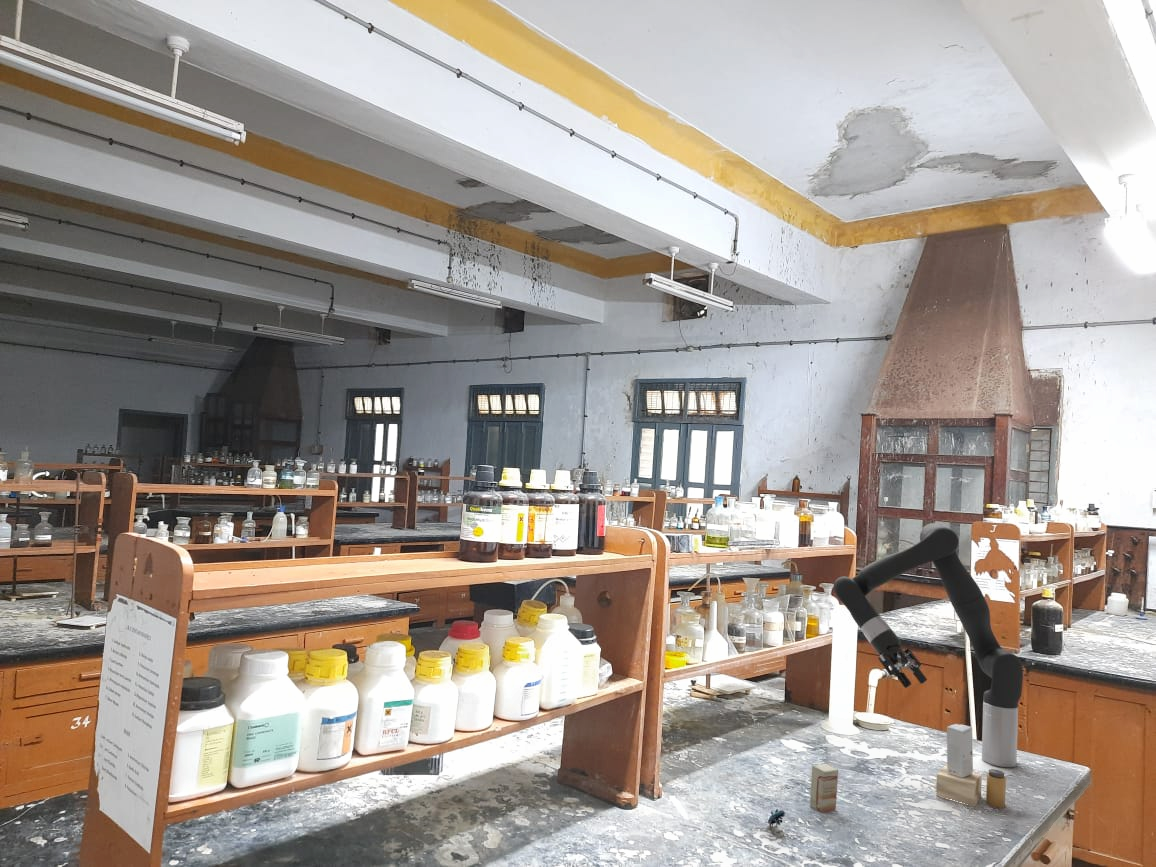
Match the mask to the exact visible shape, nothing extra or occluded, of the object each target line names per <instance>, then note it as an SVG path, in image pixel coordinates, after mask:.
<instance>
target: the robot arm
mask: <svg viewBox="0 0 1156 867" xmlns="http://www.w3.org/2000/svg"><path fill="white" fill-rule="evenodd" d="M919 540H920V541H918V542H917V543H916V544H914V545H912V546H910V547H908V548H906V549H902V550H901V551H897V552H895V553H891V554H888V555H886V556H884V557H881V558H879V559H877V560H875V561H873V562H871V563H869V564H868V565H867V566H864V567H863V568H862V569H860V571H859V573H858V574H857V575H855V576H854V577H852V578H851V577H849V576H840V577H838V578H837V579H836V580H835V581H834V584H833V591H834V594H835V596H836V598H837V599H838V601H839V602H841V603H842V604H843V605H844V606H845V608H846V609H847V610H848V612H849V613H850V615H851V617H852V619H853V620H854V621H855V623H856V624H857V626H858V627H859V629H860V630H861V632H862V633H863V636H864V637H865V638H866V640H867V641H868V642H869V644H870V645H871V646H872V648H873V649H874V651H875V652H876V654H878V657H877V658H878V660H879V662H880V664H881V665H882V666H883V668H884V669H885V670H886V672H887V673H888V675H889V676H891V677H892V676H894V677H896V678H897V680H899V682H900V683H901V685H902V686H903V687H904V688H905V689H908V688H909V687H910V686H912V682H911V680H910V679H909V678H908V676H907V675H906V673H904V672H905V671H904V672H903V668H904V669H906V670H908V671H910V672H912V674H913V676H914V677H915V678H916V680H917V681H918V683H920V684H924V683H926V682H927V681H928V679H927V677H926V675H924V673H923V671H922V670H921V669H920V668H921V666H922V663H921V662H920V660H919V659H918V658H917V657H916V655H915V654H914V653H913V652H912V651H911V649H910V648H908V647H906V648H905V649H902V648H901V647H900V646H901V642H902V641H901V640H900V638H899V636H897V635H896V633H895V632H894V630H893V628H891V626H890V625H889V624H888V622H887V621H886V620H885V619H884V618H883V617H882V616H881V614H879V612H878V611H877V609H876V608H875V607H874V606H873V605H872V604H871V603H870V601H869V600H868V599H867V595H869V594H870V593H871V592H872V591H873V590H875V589H877V588H879V587H882V585H885V584H886V583H889V582H890V581H892V580H893V579H895V578H897V577H899V576H901V575H903V574H905V573H907V572H910V571H911V570H914V569H916V568H918V567H921V566H923V565H926V564H928V563H931V562H932V563H933V565H934V567H935V569H936V571H937V573H938V575H939V578H940V580H941V583H942V584H943V588H944V590H945V592H946V595H947V596H948V599H949V601H950V604H951V605H952V607H953V610H954V612H955V614H956V616H958V619H959V621H960V623H961V625H962V627H963V629H964V631H965V633H966V634H967V636H968V638H969V641H970V644H971V646H972V648H973V650H974V654H975V657H976V660H977V662H978V665H979V668H980V669H981V670H982V672H983V673H984V674H985V675H987V677H989V678H991V684H990V689H988V690H985V691H984V692H983V698H982V699H983V700H982V701H983V702H982V730H981V731H982V734H981V735H982V736H981V737H982V738H981V759H982V760H983V762H986V763H988V764H990V765H993V766H996V767H997V766H998V767H1002V768H1015V767H1017V762H1018V761H1017V757H1018V727H1019V725H1018V724H1019V723H1018V722H1019V718H1018V717H1019V715H1018V714H1019V702H1020V700H1021V698H1022V694H1023V691H1022V690H1023V681H1024V667H1023V666H1024V665H1023V664H1022V661H1021V659H1020V658H1019V656H1017V654H1013V653H1011V652H1009V651H1007V650H1005V649H1003V648H1002V647H1001V645H1000V644H999V642H998V640H997V638H996V636H995V635H994V633H993V630H992V627H991V612H990V607H989V604H988V603H987V602H988V601H987V600H986V598H985V596H984V594H983V592H982V590H981V589H980V586H979V585H978V584H977V582H976V581H975V579H974V578H973V576H972V575H971V574H970V572H969V571H968V570H967V568H966V567H965V565H964V564H963V563H962V561H961V560H960V558H959V555H958V554H957V549H958V547H959V543H960V542H959V537H958V534H956V532H955V531H954V530H953V529H951V528H949V527H947V526H945V525H943V524H940V523H935V522H934V523H933V522H931V523H928V524H926V525H924V526H923V527H922V529H921V531H920V532H919Z"/></svg>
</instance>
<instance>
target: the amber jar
mask: <svg viewBox="0 0 1156 867" xmlns="http://www.w3.org/2000/svg"><path fill="white" fill-rule="evenodd" d="M985 788H986V791H985V792H986V796H985V803H986V802H987V803H986V804H987V805H989V806H991V807H993V808H999V809H1000V808H1002V809H1003V808H1005V807H1006V798H1007V797H1006V796H1007V794H1006V790H1007V777H1006V775H1005V772H1004V771H1002V770H1000V769H993V768H991V769H988V772H987V773H986V787H985Z"/></svg>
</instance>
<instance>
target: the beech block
mask: <svg viewBox="0 0 1156 867" xmlns="http://www.w3.org/2000/svg"><path fill="white" fill-rule="evenodd" d="M982 775H983V774H981V773H977V772H975V771H973V773H972V774H970V775H968V776H966V777H963V778H961V777H958V776H954V775H952V774H949V773H948V772H947V764H945V765H944V766H942V767H941V769H940V770H939V771H938V772H937V773H936V787H935V789H936V790H935V791H936V792H935V796H936V797H937V796H939V797H938V798H941V797H943V798H942V799H944V798H948V799H952V800H955V801H958V802H962V803H965V804H968V805H971V806H970V807H972V806H974V805H975V806H976V804H977V803H978V802H977V801H979V800H980V799H979V798H982V781H983V780H982V777H983V776H982ZM948 799H947V800H948ZM955 801H954V802H955ZM958 802H957V803H958ZM976 802H977V803H976ZM962 803H961V804H962ZM965 804H964V805H965ZM968 805H967V806H968ZM975 806H974V807H975Z"/></svg>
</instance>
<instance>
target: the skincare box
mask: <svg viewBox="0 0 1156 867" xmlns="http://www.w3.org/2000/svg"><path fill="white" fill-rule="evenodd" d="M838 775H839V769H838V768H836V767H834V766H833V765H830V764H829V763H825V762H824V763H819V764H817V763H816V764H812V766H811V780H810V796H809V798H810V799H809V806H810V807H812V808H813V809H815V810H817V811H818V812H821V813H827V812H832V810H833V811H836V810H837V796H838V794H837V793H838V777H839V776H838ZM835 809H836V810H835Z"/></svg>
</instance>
